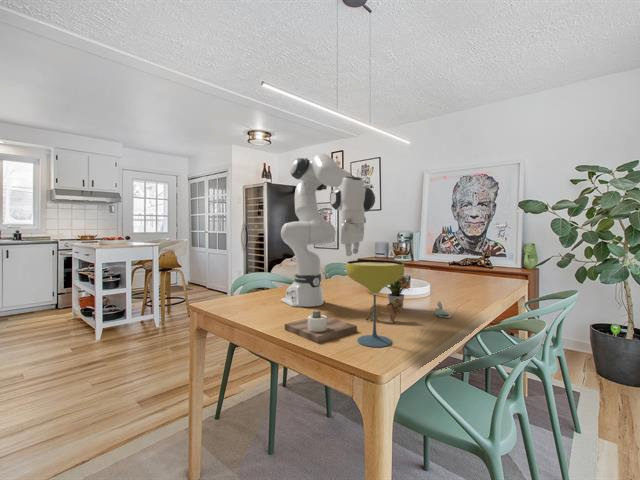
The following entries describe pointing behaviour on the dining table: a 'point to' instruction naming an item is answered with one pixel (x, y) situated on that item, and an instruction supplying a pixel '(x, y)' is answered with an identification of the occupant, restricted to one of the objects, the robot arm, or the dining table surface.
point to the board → (333, 330)
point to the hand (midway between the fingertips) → (352, 254)
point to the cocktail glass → (375, 288)
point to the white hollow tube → (317, 323)
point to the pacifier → (441, 311)
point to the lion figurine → (387, 309)
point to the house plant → (397, 289)
